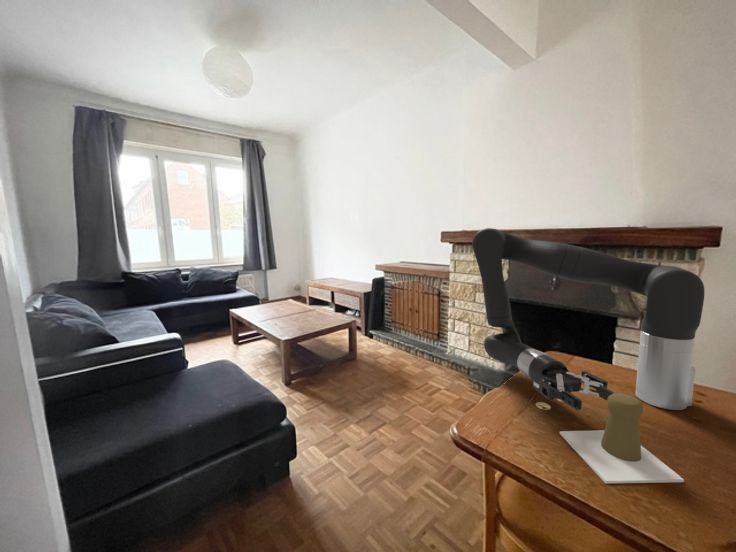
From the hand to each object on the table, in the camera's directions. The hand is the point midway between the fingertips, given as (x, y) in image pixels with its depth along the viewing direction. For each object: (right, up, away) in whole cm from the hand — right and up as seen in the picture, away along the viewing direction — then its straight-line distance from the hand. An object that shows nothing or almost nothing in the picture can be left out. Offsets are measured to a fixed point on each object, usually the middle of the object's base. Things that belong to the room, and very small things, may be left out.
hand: (598, 402), depth 60 cm
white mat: (+1, -9, -3) cm, 9 cm away
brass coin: (-3, -7, +14) cm, 16 cm away
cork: (+3, -8, -2) cm, 9 cm away
